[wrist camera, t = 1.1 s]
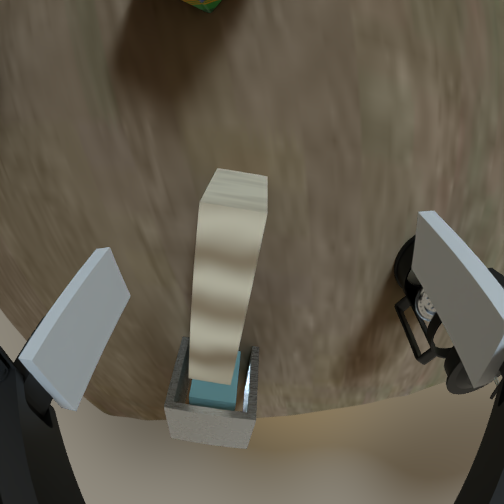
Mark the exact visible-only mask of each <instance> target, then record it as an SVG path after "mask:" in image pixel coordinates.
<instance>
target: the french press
mask: <svg viewBox="0 0 504 504" xmlns="http://www.w3.org/2000/svg"><path fill="white" fill-rule="evenodd" d="M415 237H416V235H415V236H413V237H412V238H411V239H409V240H408V241H407V242H406V243H405V245H404V246H403V247H402V249H401V250H400V252H399V253H398V256H397V258H396V261H395V265H394V274H395V278H396V281H397V283H398V284H399V286H400V287H401V288H402V289H403V291H404V293H405V295H406V296H405V297H403V298H402V299H401V300H400V301H399V302H397V303H396V304H395V309H396V312H397V314H398V316H399V319H400V321H401V323H402V326H403V328H404V331H405V333H406V336H407V338H408V340H409V343H410V345H411V348H412V351H413V353H414V356H415V358H416V360H417V361H419V362H420V363H421V364H423V365H425V364H427V363H428V362H429V361H431V360H432V359H434V358H435V357H436V356H438V357H440V358H446V359H445V363H444V368H445V371H446V374H447V376H448V377H447V380H446V385H447V389H448V390H449V392H451V393H453V394H465V393H469V392H472V391H475V390H477V389H479V388H482V387H484V386H485V385H487V384H485V385H482V386H480V387H477V388H473V386H472V383H471V381H470V379H469V376H468V374H467V372H466V370H465V368H464V365H463V363H462V361H461V359H460V357H459V355H458V353H457V351H456V349H455V346H453V347H452V348H446V349H445V348H438V347H436V346H435V344H434V342H433V338H434V335H435V333H436V331H437V329H438V327H439V326H440V324H441V323H442V321H441V319H440V317H439V315H438V314H437V312H436V310H435V308H434V306H433V304H432V303H431V301H430V299H429V297H428V296H427V294H426V292H425V290H424V289H423V287H422V285H421V284H420V285H415V284H412V283H410V282H409V281H408V280H407V277H408V274H409V272H410V270H411V267H412V260H413V253H414V246H415ZM410 306H411V307H412V309H413V311H414V313H415V315H416V317H417V319H418V321H419V323H420V326H421V328H422V330H423V332H424V334H425V336H426V339H427V341H428V343H429V345H430V349H428V350H427V351H426V352H424V353H423V354H422V355H421V352H420V350H419V347H418V345H417V342H416V340H415V338H414V335H413V333H412V331H411V328H410V326H409V324H408V321H407V319H406V317H405V315H404V311H405V310H406V309H407V308H408V307H410ZM423 319H424V320H427V321H430V323H429V325H428V329H427V327H426V325H425V323H424V321H423ZM500 375H501V373H500V371H498V373H497V374H496V376H495V378H494V379H493V380H494V381H495V384H496V386H498V384H499V381H498V379H497V377H499V376H500ZM488 384H489V383H488Z"/></svg>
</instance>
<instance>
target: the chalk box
mask: <svg viewBox="0 0 504 504" xmlns="http://www.w3.org/2000/svg"><path fill="white" fill-rule="evenodd" d="M182 1H184V2H186V3H188V4H190V5H193V6H195V7H197V8H199V9H201V10H203V11H205V12H208V13H211V12H212V11H213V10H214V9H215V8H216V7H217V5H218V4H219V3H220V2H221V1H222V0H182Z"/></svg>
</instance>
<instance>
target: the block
mask: <svg viewBox="0 0 504 504" xmlns="http://www.w3.org/2000/svg"><path fill="white" fill-rule="evenodd" d="M240 353H241V351H238V354H237V358H236V363H235V368H234V372H233V377H232V381H231V385H226V384H219V383H213V382H207V381H201V380H196V379H192V384H191V389H190V394H189V405H195V406H201V407H208V408H215V409H222V410H230V411H234V410H235V405H236V395H237V385H238V374H239V364H240Z"/></svg>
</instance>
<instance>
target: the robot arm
mask: <svg viewBox="0 0 504 504" xmlns="http://www.w3.org/2000/svg"><path fill="white" fill-rule="evenodd" d="M411 268H412V270H413V272H414V273H415V275H416V277H417V278H418V280H419V282H420V283H421V285H422V287H423V289H424V290H425V292H426V294H427V296H428V297H429V299H430V301H431V303H432V304H433V306H434V308H435V310H436V312H437V314H438V315H439V317H440V319H441V321H442V323H443V325H444V327H445V329H446V331H447V332H448V334H449V336H450V338H451V340H452V342H453V344H454V346H455V349H456V351H457V353H458V355H459V357H460V359H461V361H462V363H463V365H464V368H465V370H466V372H467V374H468V376H469V379H470V381H471V383H472V386H473V388H477V387H480V386H482V385H485V384H488V383H490V382H492V381H493V379H494V378H495V376H496V374H497V373H498V371H500V373H501V375H502V377H503V378H502V380H501V382H500V383H499V384H498V386H497V387H496V389H495V390H494V392H493V393H492V395H491V397H490V399H493V397H494V396H495V395H496V398H495V402H494V405H493V409H492V413H491V415H490V418H489V422H488V425H487V428H486V431H485V433H484V436H483V439H482V442H481V444H480V447H479V450H478V452H477V455H476V457H475V460H474V462H473V464H472V467H471V469H470V472H469V474H468V476H467V478H466V480H465V483H464V484H463V487H462V489H461V491H460V493H459V495H458V497H457V499H456V501H455V502H454V504H504V276H503V275H502V274H500V273H499V272H497V271H496V270H494V269H493V268H486V267H485V265H484V264H483V263H482V262H481V261H480V260H479V258H478V257H477V256H476V255H475V254H474V253H473V252H472V250H471V249H470V248H469V247H468V246H467V245H466V244H465V243H464V242H463V240H462V239H461V238H460V237H459V236H458V235H457V234H456V233H455V232H454V231H453V230H452V229H451V228H450V227H449V226H448V225H447V224H446V223H445V222H444V220H443V219H442V218H441V217H440V216H439V215H438V214H437V213H436V212H435V211H423V212H418V218H417V228H416V237H415V246H414V253H413V260H412V267H411ZM129 298H130V293H129V291H128V289H127V287H126V285H125V282H124V280H123V278H122V275H121V273H120V271H119V268H118V266H117V264H116V261H115V259H114V256H113V254H112V251H111V249H110V247H107V248H100V249H96V250H95V251H94V253H93V254H92V255H91V256H90V258H89V259H88V260H87V261H86V263H85V264H84V265H83V266H82V268H81V269H80V270H79V271H78V273H77V274H76V275H75V277H74V278H73V279H72V280H71V282H70V283H69V284H68V286H67V287H66V288H65V290H64V291H63V292H62V294H61V295H60V297H59V298H58V299H57V301H56V302H55V303H54V305H53V306H52V308H51V309H50V311H49V312H48V313H47V315H46V316H45V317H44V318H42V320H41V321H40V323H39V324H38V326H37V327H36V330H34V332H33V333H32V335H31V337H30V338H29V339H28V341H27V342H26V344H25V345H24V347H23V349H22V350H21V352H20V353H19V355H18V357H17V358H16V360H15V362H14V363H13V362H12V360H11V359H10V358H9V357H8V355H7V354H6V353H5V351H4V350H3V349H2V348H1V346H0V504H85V501H84V499H83V497H82V494H81V492H80V489H79V487H78V484H77V481H76V479H75V476H74V474H73V471H72V468H71V465H70V462H69V459H68V456H67V453H66V449H65V446H64V443H63V440H62V436H61V433H60V429H59V425H58V421H57V417H56V413H55V410H54V408H53V407H52V406H51V405H50V403H51V401H52V399H54V400H55V401H56V402H57V403H58V405H60V407H61V408H65V409H69V410H74V411H77V408H78V406H79V404H80V401H81V399H82V397H83V394H84V392H85V390H86V387H87V385H88V383H89V380H90V378H91V376H92V374H93V372H94V369H95V367H96V365H97V363H98V361H99V359H100V356H101V354H102V352H103V350H104V348H105V346H106V344H107V342H108V340H109V338H110V336H111V333H112V331H113V329H114V327H115V325H116V323H117V321H118V319H119V317H120V315H121V314H122V312H123V310H124V308H125V306H126V304H127V302H128V300H129ZM496 393H497V394H496Z"/></svg>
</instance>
